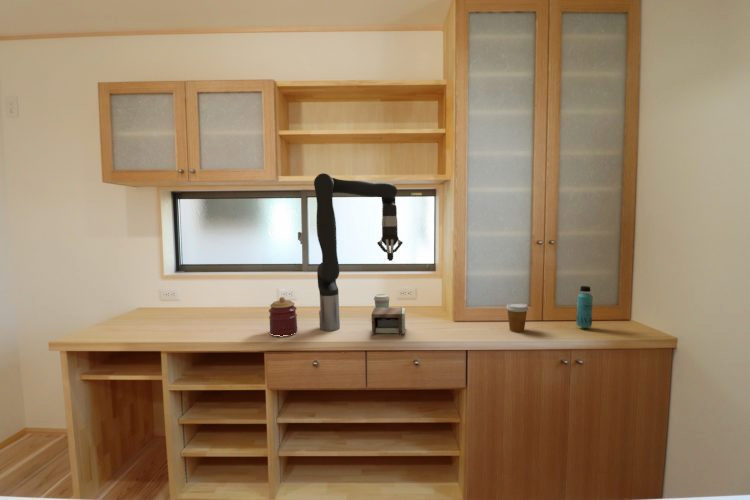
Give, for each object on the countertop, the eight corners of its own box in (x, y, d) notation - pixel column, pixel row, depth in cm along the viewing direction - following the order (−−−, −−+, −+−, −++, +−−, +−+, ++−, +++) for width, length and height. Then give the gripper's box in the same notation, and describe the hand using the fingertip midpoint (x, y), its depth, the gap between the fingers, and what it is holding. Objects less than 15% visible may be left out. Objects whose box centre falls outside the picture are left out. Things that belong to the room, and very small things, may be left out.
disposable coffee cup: (525, 327, 179) (526, 302, 178) (529, 333, 170) (530, 307, 169) (504, 326, 181) (504, 302, 180) (507, 333, 172) (507, 307, 171)
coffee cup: (391, 315, 206) (391, 294, 205) (388, 319, 198) (387, 297, 197) (376, 314, 209) (376, 293, 207) (372, 319, 200) (371, 297, 199)
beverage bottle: (572, 327, 177) (573, 285, 175) (583, 325, 179) (584, 284, 177) (584, 331, 171) (586, 288, 169) (595, 329, 173) (596, 286, 171)
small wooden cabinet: (372, 335, 174) (371, 314, 173) (375, 327, 186) (374, 307, 185) (401, 335, 172) (400, 314, 171) (402, 327, 184) (401, 307, 183)
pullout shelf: (375, 333, 175) (374, 313, 174) (377, 326, 185) (377, 307, 184) (404, 333, 173) (404, 313, 172) (405, 326, 183) (404, 308, 182)
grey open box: (378, 329, 177) (377, 320, 176) (379, 326, 182) (378, 317, 182) (399, 329, 176) (399, 320, 175) (399, 326, 181) (399, 317, 181)
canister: (294, 337, 174) (292, 299, 173) (266, 338, 174) (264, 300, 172) (299, 328, 187) (298, 293, 186) (273, 329, 187) (271, 294, 185)
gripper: (403, 224, 187) (404, 259, 188) (377, 225, 188) (377, 259, 190) (402, 225, 179) (403, 261, 181) (375, 225, 181) (376, 261, 183)
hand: (390, 260), depth 185 cm, fingers closed
